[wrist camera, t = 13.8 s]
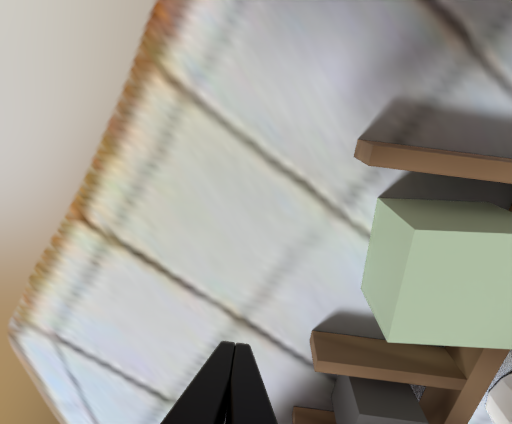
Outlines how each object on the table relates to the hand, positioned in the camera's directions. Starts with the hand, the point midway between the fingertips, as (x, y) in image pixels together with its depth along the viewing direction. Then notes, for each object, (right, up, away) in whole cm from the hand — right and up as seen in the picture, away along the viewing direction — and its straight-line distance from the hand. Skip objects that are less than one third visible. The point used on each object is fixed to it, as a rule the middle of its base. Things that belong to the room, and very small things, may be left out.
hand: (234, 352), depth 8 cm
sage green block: (+10, +2, +9) cm, 14 cm away
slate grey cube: (+9, -8, +12) cm, 17 cm away
